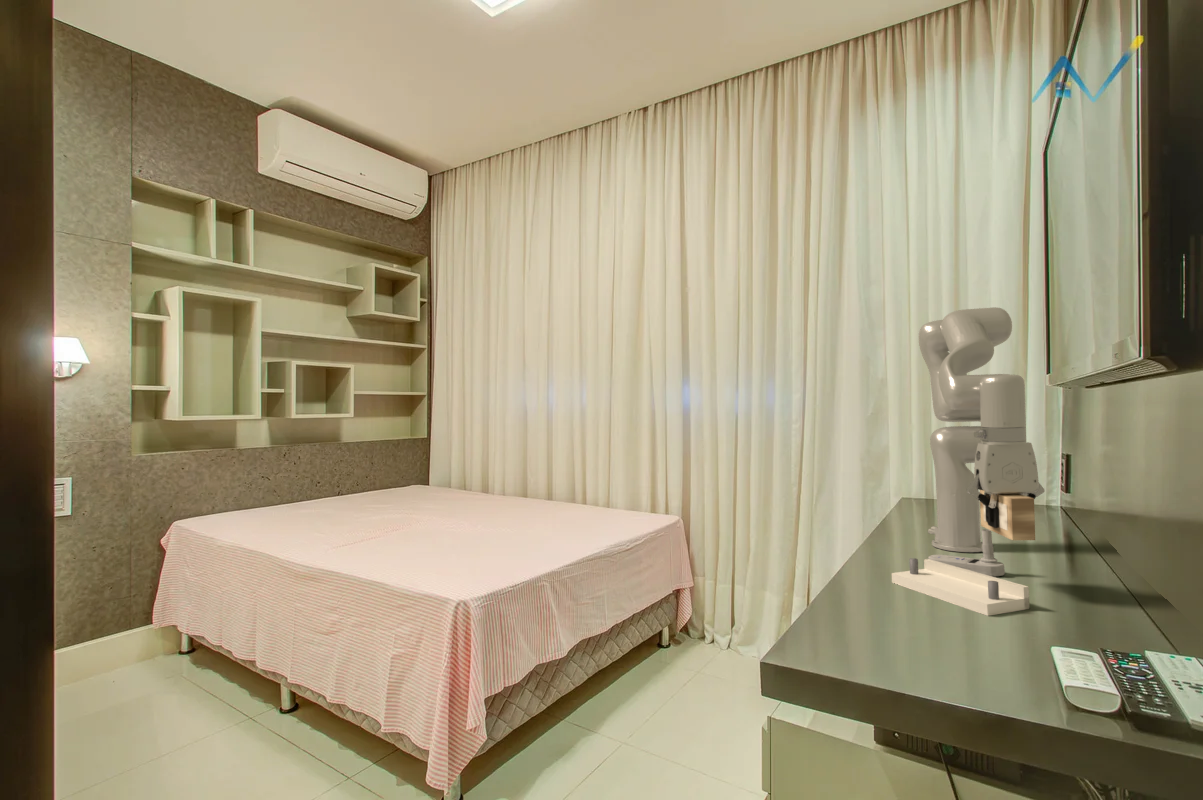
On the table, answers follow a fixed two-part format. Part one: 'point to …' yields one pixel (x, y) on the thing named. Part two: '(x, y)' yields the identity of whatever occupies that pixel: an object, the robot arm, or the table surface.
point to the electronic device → (983, 565)
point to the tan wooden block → (1013, 516)
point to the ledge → (964, 587)
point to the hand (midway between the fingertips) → (1006, 525)
